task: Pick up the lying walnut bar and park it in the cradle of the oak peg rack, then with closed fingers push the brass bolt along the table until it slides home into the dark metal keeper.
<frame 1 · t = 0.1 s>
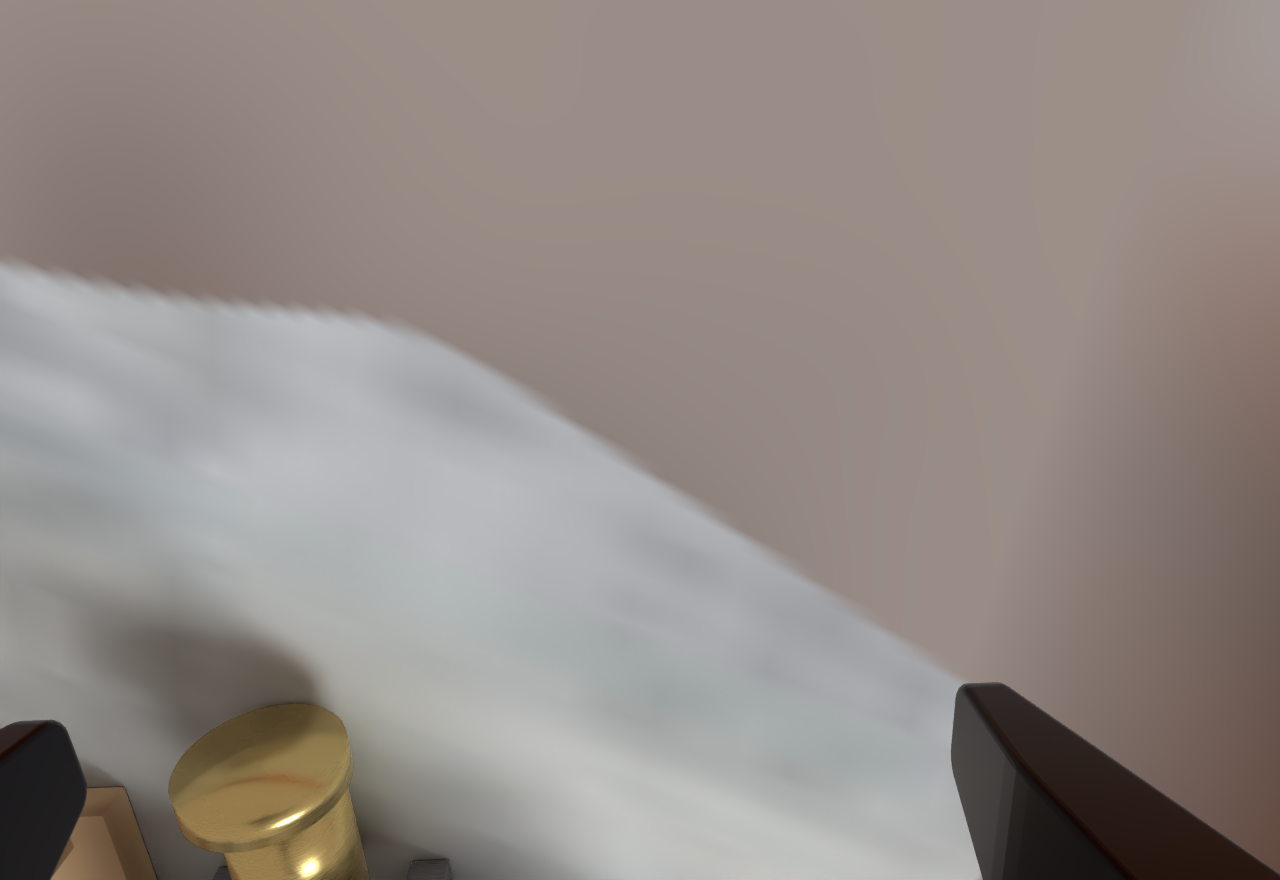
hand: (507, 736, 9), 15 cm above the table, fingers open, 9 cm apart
brass bolt: (283, 840, 26), point 2 cm above the table, slide at 0.0 cm
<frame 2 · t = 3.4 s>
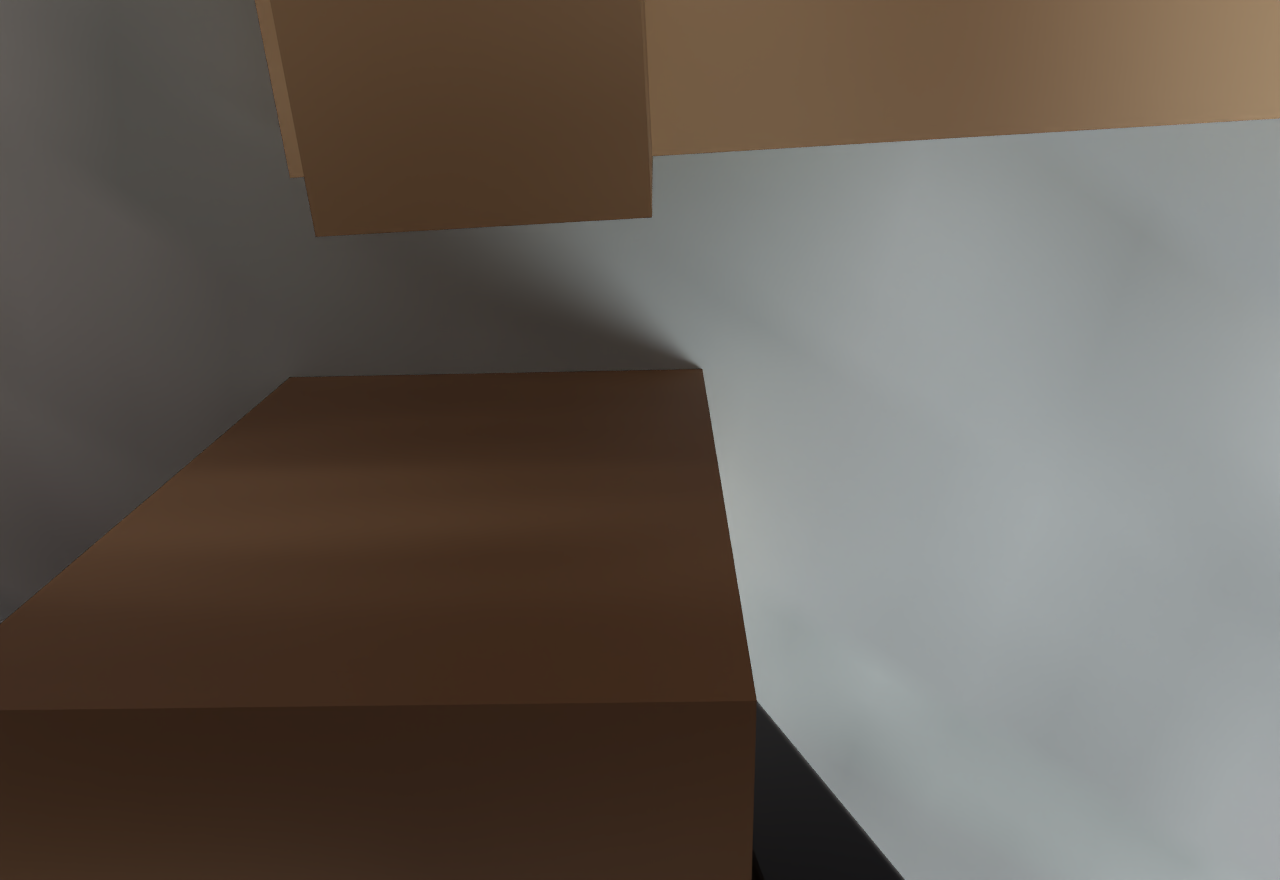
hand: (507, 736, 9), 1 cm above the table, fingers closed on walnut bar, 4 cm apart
walnut bar: (538, 837, 11), on the table, touching gripper
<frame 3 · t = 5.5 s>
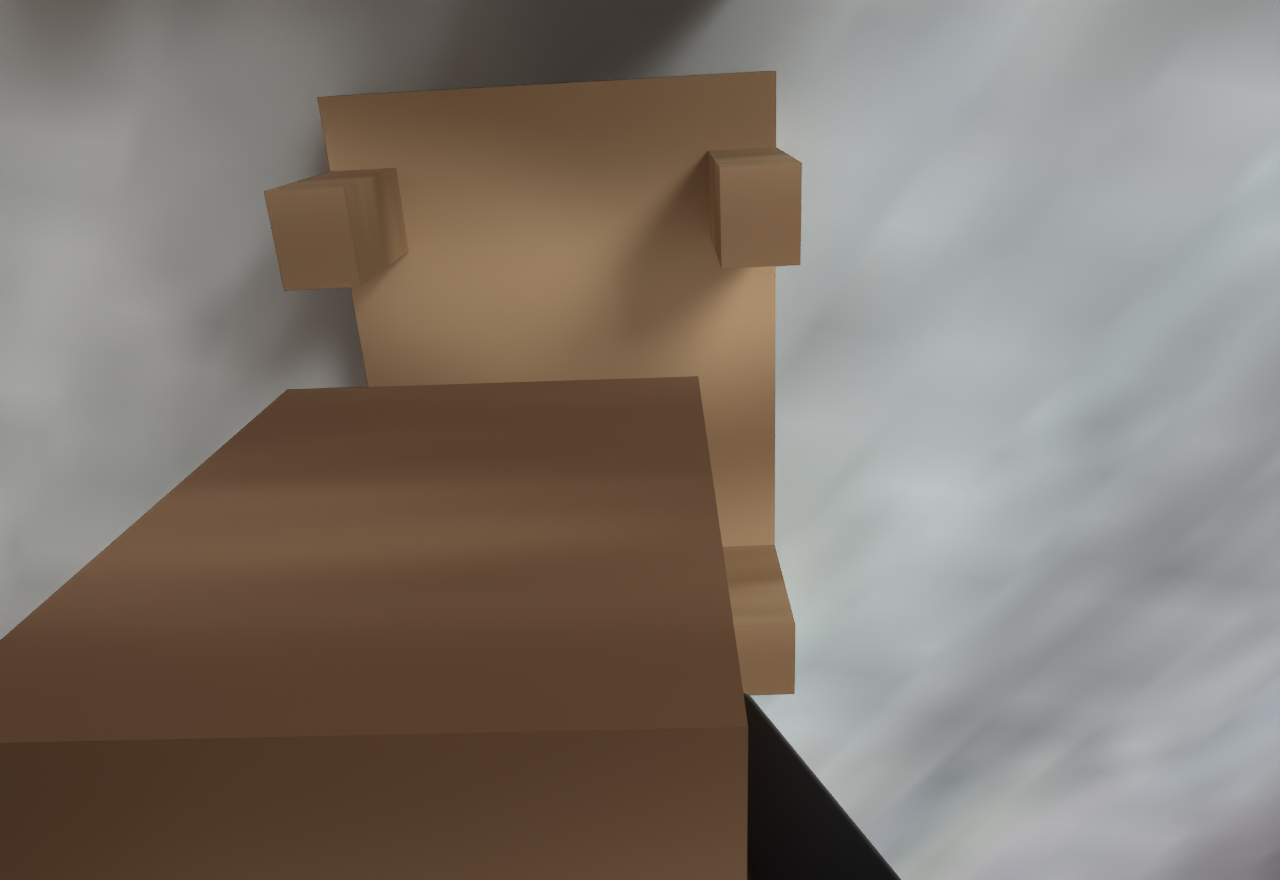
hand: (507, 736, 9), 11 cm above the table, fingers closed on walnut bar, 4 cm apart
walnut bar: (541, 849, 11), point 10 cm above the table, touching gripper
peg rack: (577, 388, 19), on the table
when the fingers open (4 cm above the table, at t = 7.0 s): walnut bar drops 1 cm, resting on peg rack.
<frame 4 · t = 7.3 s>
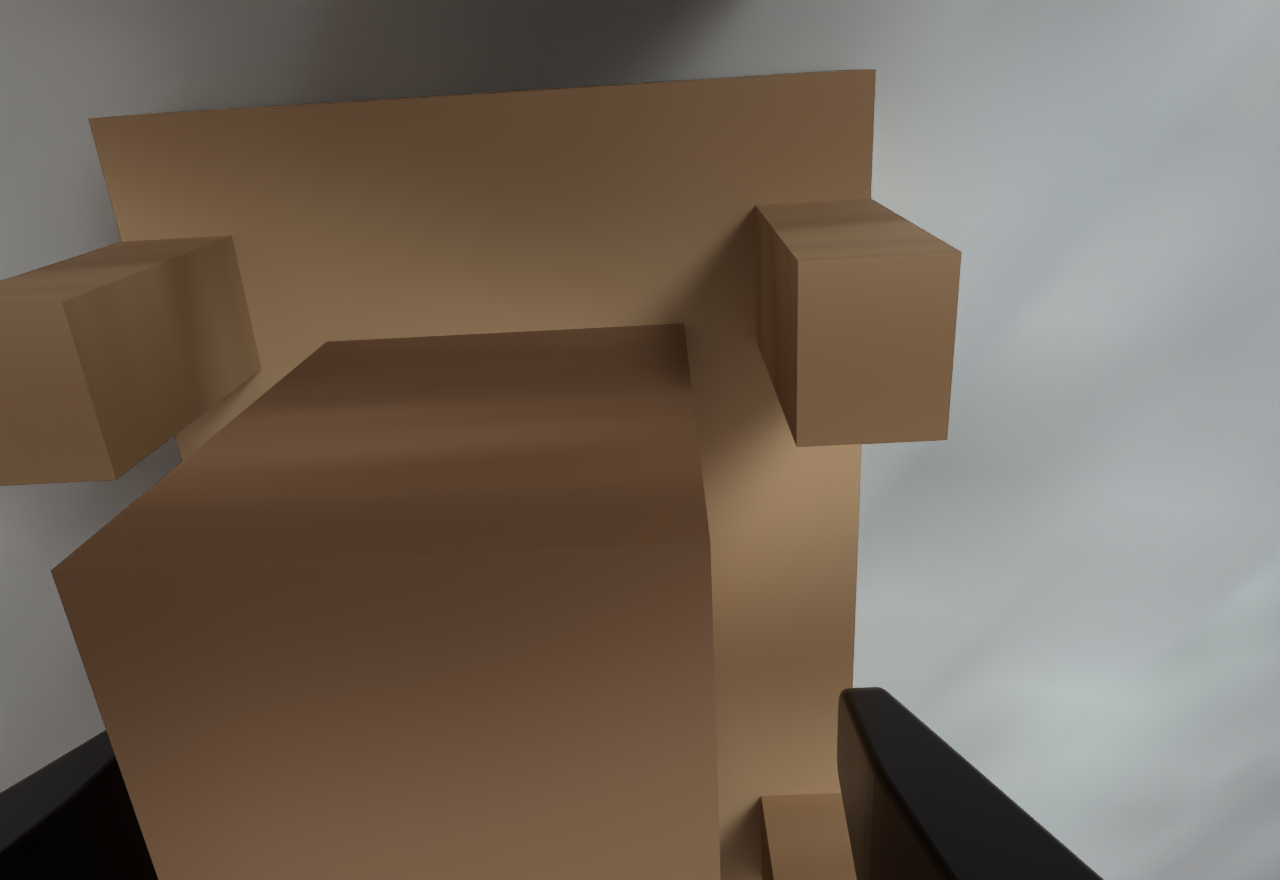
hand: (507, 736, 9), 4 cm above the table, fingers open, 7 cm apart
walnut bar: (553, 759, 12), point 1 cm above the table, touching peg rack
peg rack: (546, 556, 12), on the table
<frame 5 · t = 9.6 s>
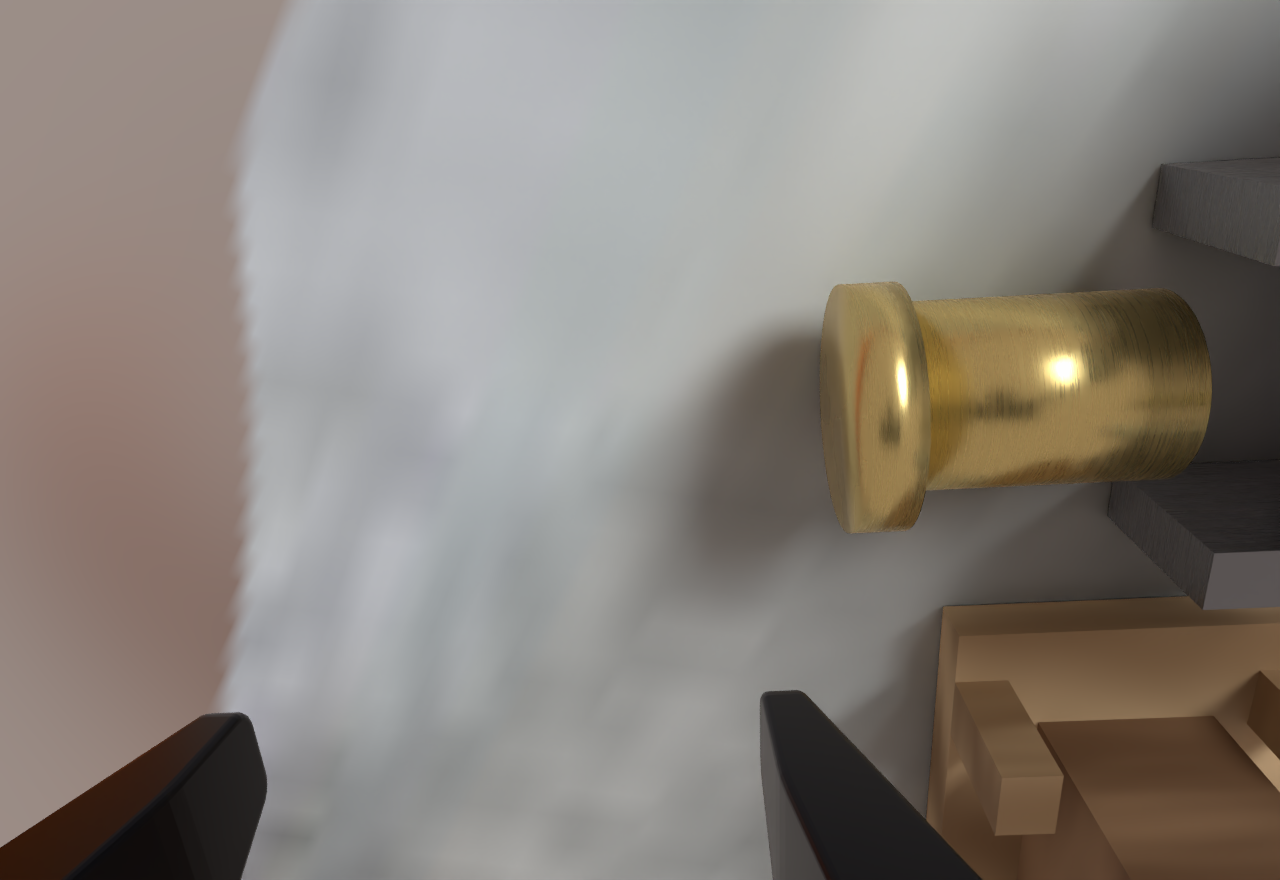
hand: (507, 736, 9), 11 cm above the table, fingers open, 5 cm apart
keeper: (1255, 347, 19), on the table
brass bolt: (1003, 401, 17), point 2 cm above the table, slide at 0.0 cm
peg rack: (1083, 798, 23), on the table
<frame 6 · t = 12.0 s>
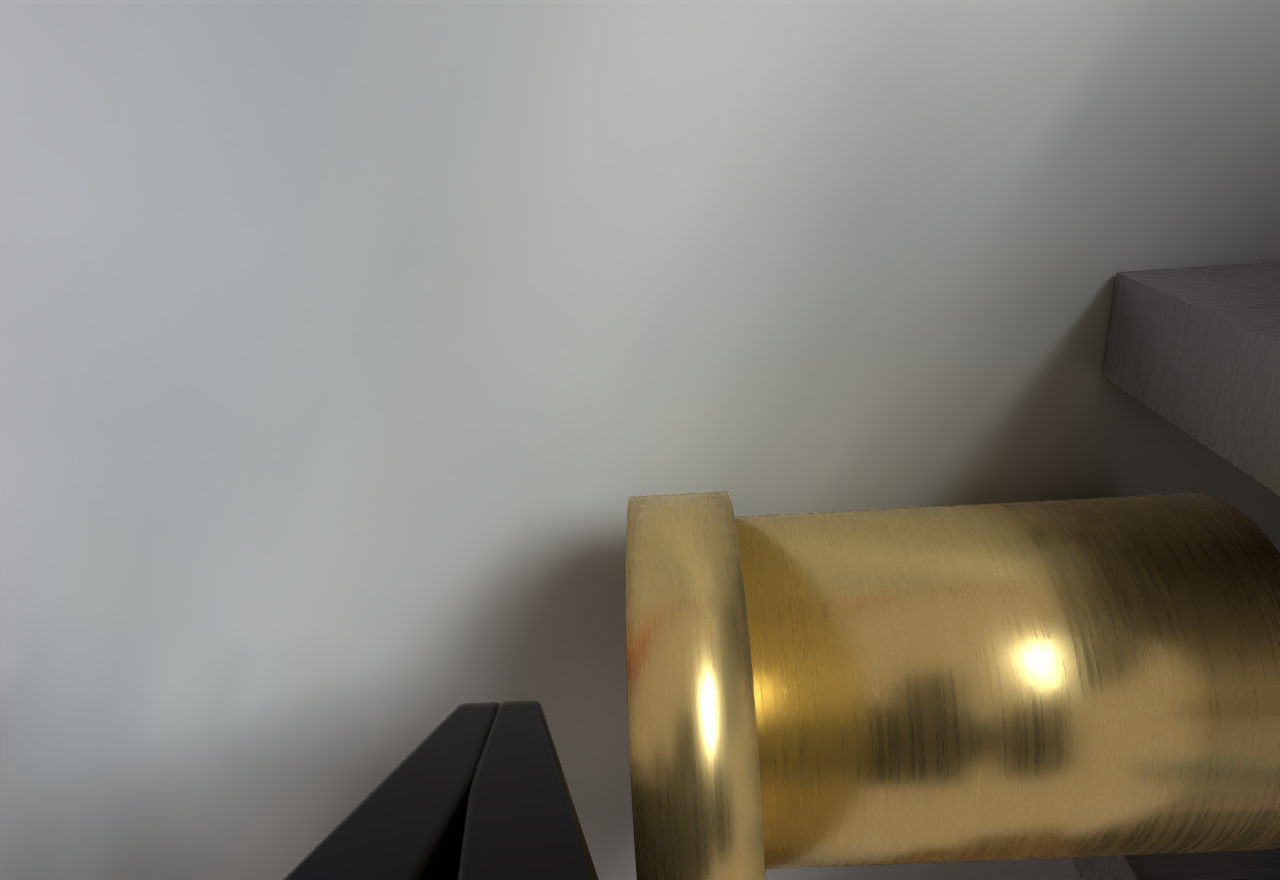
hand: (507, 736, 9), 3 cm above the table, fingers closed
keeper: (1279, 563, 11), on the table
brass bolt: (936, 706, 9), point 2 cm above the table, slide at 1.1 cm, touching gripper
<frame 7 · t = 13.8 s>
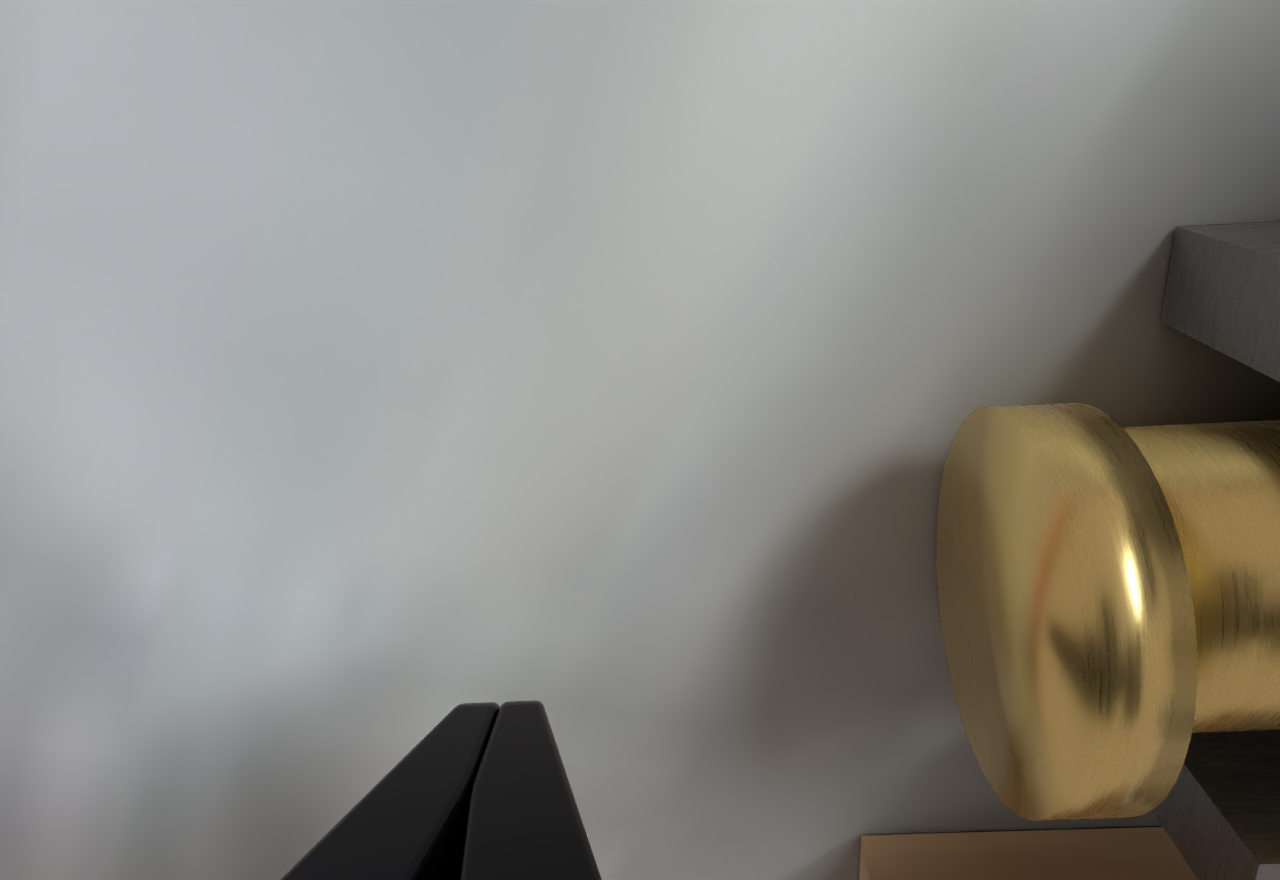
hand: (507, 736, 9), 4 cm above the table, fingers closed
brass bolt: (1259, 595, 10), point 2 cm above the table, slide at 3.8 cm
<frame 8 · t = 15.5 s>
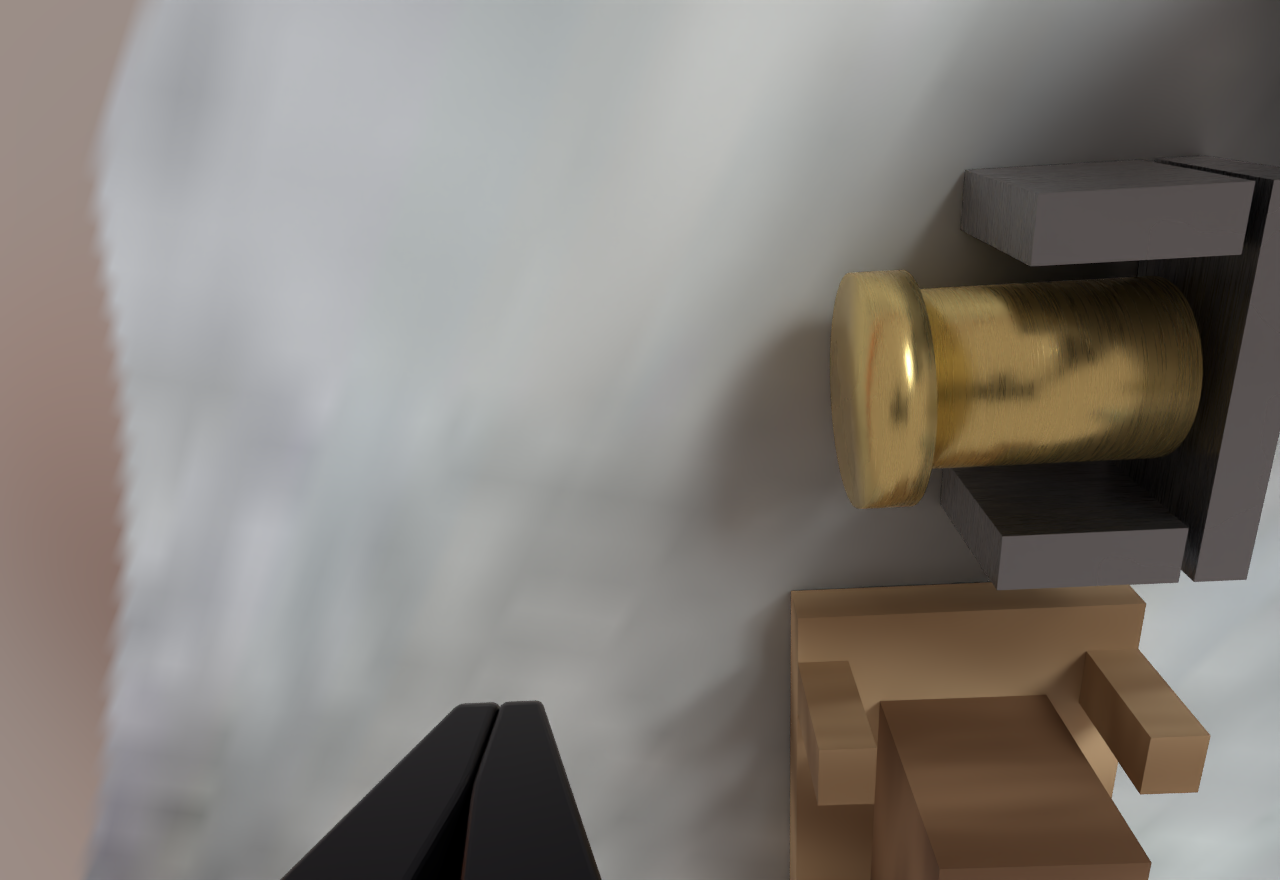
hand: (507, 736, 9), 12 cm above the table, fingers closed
keeper: (1067, 343, 20), on the table
brass bolt: (1005, 383, 18), point 2 cm above the table, slide at 3.8 cm
peg rack: (939, 775, 24), on the table
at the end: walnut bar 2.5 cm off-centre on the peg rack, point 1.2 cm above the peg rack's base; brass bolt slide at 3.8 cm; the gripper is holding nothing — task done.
